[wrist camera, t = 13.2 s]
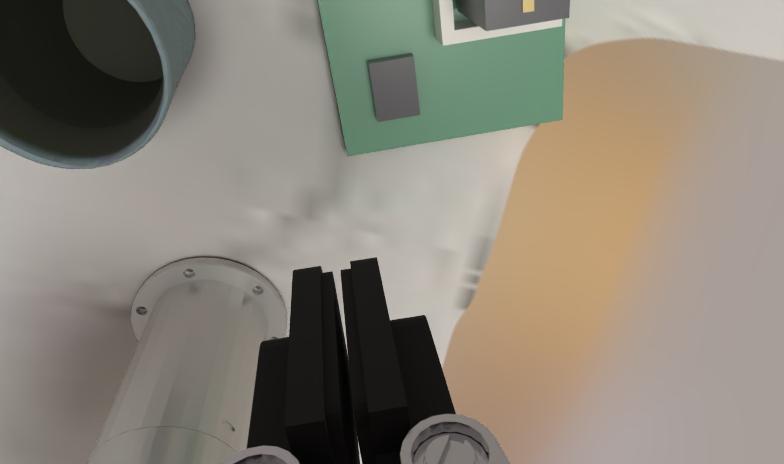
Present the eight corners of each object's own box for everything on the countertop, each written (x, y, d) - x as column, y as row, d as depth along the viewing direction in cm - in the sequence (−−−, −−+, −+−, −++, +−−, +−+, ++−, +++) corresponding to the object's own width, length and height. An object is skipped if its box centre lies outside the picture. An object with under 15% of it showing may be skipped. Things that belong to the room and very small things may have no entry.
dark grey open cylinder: (9, -52, 32) (-138, -36, 22) (178, -86, 32) (111, -85, 22) (88, 113, 37) (-1, 189, 27) (233, 83, 37) (200, 148, 27)
